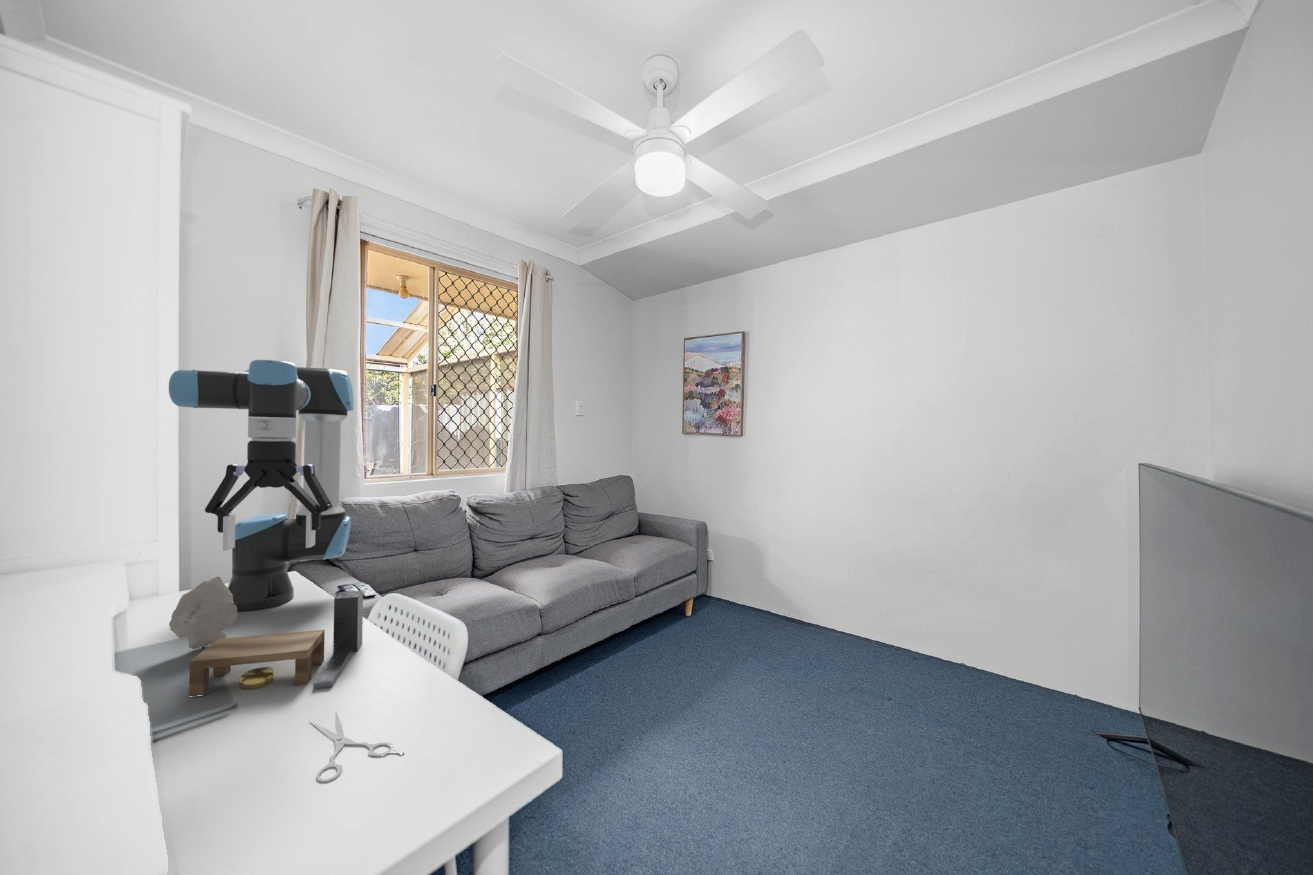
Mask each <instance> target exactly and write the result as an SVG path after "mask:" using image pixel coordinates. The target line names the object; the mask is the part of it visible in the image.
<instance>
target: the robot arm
mask: <svg viewBox="0 0 1313 875" xmlns="http://www.w3.org/2000/svg"><path fill="white" fill-rule="evenodd" d="M248 367H249V368H248V369H246V370H244V371H224V370H223V371H216V370H215V371H213V370H197V369H177V370H175V371H174V372H173V373H172V374H171V375H170V378H169V380H168V395H169V397H170V400H171V401H172V403H173V404H174V405H176V406H177V407H180V408H181V407H182V408H192V409H226V410H227V409H231V410H232V409H233V410H237V409H238V410H248V412H247V413H248V415H247V416H248V417H247V437H248V438H249V439H251V440H249V441H248V442H247V446H246V447H247V454H246V456H247V457H246V458H247V463H246V465H241V464H240V463H231V464H228V465H227V466H226V468H225V475H224V478H223V479H222V480H221V482H220V484H219V485H218V487H217V489H216V490H215V492H214V494H213V495H212V497H211V498H210V500H209V502H208V503H207V504H206V506H205V508H204V512H205V513H206V514H213V515H215V516H216V517H217V526H216V527H217V529H216V530H217V532H218V533H222V551H224V552H227V551H230V550H231V551H232V552H231V553H232V556H231V570H232V571H231V578H230V581H229V583H228V585H227V588H228V589H229V590H230V592H231V593H232V594H233V602H234V604H233V605H236V607H237V612H239V611H240V612H241V611H243V612H244V611H254V610H262V609H268V608H271V607H274V606H279V605H282V604H284V603H287V602H289V601H290V600H292V599H293V598H294V594H295V593H294V592H295V591H294V590H295V589H294V586H293V583H292V581H291V577H290V575H289V573H288V570H287V562H299V561H312V560H313V561H314V560H324V561H325V560H327V559H336V558H341V557H342V556H343V555H344V554H345V552H346V549H347V547H348V542H349V538H350V534H351V533H350V532H351V527H352V518H351V516H347V515H346V509H345V508H343V507H342V506H341V505H340V485H341V484H340V478H341V477H340V474H341V472H340V470H341V438H342V437H341V435H342V433H341V432H342V431H341V430H342V422H343V421H344V420H346V418H348V412H351V411H353V410H354V408H355V407H354V406H355V402H354V401H355V400H354V399H355V398H354V392H353V386H352V380H351V378H350V375H349V373H348V372H346V371H345V370H341V369H335V368H334V369H333V368H320V367H301V366H300V367H299V366H296V364H294V363H293V362H289V361H284V360H272V359H253V360H252V361H251V362H250V363H249V366H248ZM297 411H298V416H299V417H300V418H301V419H302V420H303V421H304V446H303V465H297V463H296V454H297V453H296V452H297V451H296V450H297V442H295V441H294V440H293V439H296V438H297ZM244 473H245V474H246V475H247V476H248V478H249V479H247V481H246V482H244V483H243V485H242V486H241V487H240V488H239V489H238V490H237V491H236V492H235V493H234V494H233V495H232V496H231V497H230V498H229V499H228V500H227V501H226V499H227V497H228V495H229V494H230V492H231V491H232V489H233V487H234V486H235V485H236V483H237V481H238V479H239V477H240V476H242V475H243V474H244ZM297 473H299V475H300V476H302V477H303V485H300V483H299V482H298V481H297V479H295V478H294V476H296V475H297ZM302 486H303V487H302ZM257 487H258V488H260V489H265V488H275V489H276V488H283V487H284V489H286V490H287V491H289V492H290V493H291V494H292V495H293V496H294V497H295V498H296V499H297V500H298V502H300V503H301V504H302V507H301V508H300V509H298V510H297V511H296V512H295V518H289V516H288V514H287V513H285V512H284V513H271V514H264V515H258V516H253V517H249V518H246V519H242V520H239V521H238V522H236V514H235V513H234V514H233V513H232V512H233V510H234V509H235V508H236V507H238V506H239V505H240V504H241V503H242V502H243V500H244V499H246V498H247V497H248V496H249V495H250V494H251V493H252V492H253V491H254V490H255V489H257ZM225 501H226V502H225ZM224 502H225V503H224ZM223 503H224V504H223Z"/></svg>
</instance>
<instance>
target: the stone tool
mask: <svg viewBox="0 0 1313 875" xmlns="http://www.w3.org/2000/svg"><path fill="white" fill-rule="evenodd" d="M233 604H234V602H233V594H232V593H231V592H230V590H229V589H228V585H227V586H226V585H225V583H224V582H223V580H222V578H221V576H216V577H213V578H211V579H209V580H203V581H202V582H201V583H200V584H198V585H197V586H196V587H195V588H192V589H191V590H189V591H188V592H185V593H184V594H182V596H181V597H180V599H179V600H178V602H177V605H176V607H175V609H174V610H173V612H172V614H171V619H170V621H169V623H168V625H169V629H170V631H171V632H173V633H174V634H175V637H177V638H179V639H180V638H181V639H182V638H185V639H187V640H188V642H189V643H188V648H189V649H191V650H197V649H199V648H200V647H205V648H207V647H209V646H210V645H211V644H213V643H214V642H215V641H216V640H218V639H220V638H227V634H226V633H225V632H224V631H223V629H224V628H226V627H229V626H231V625H233V624H234V623H235V622H236V620H237V618H238V611H237V607H236V605H233Z"/></svg>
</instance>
